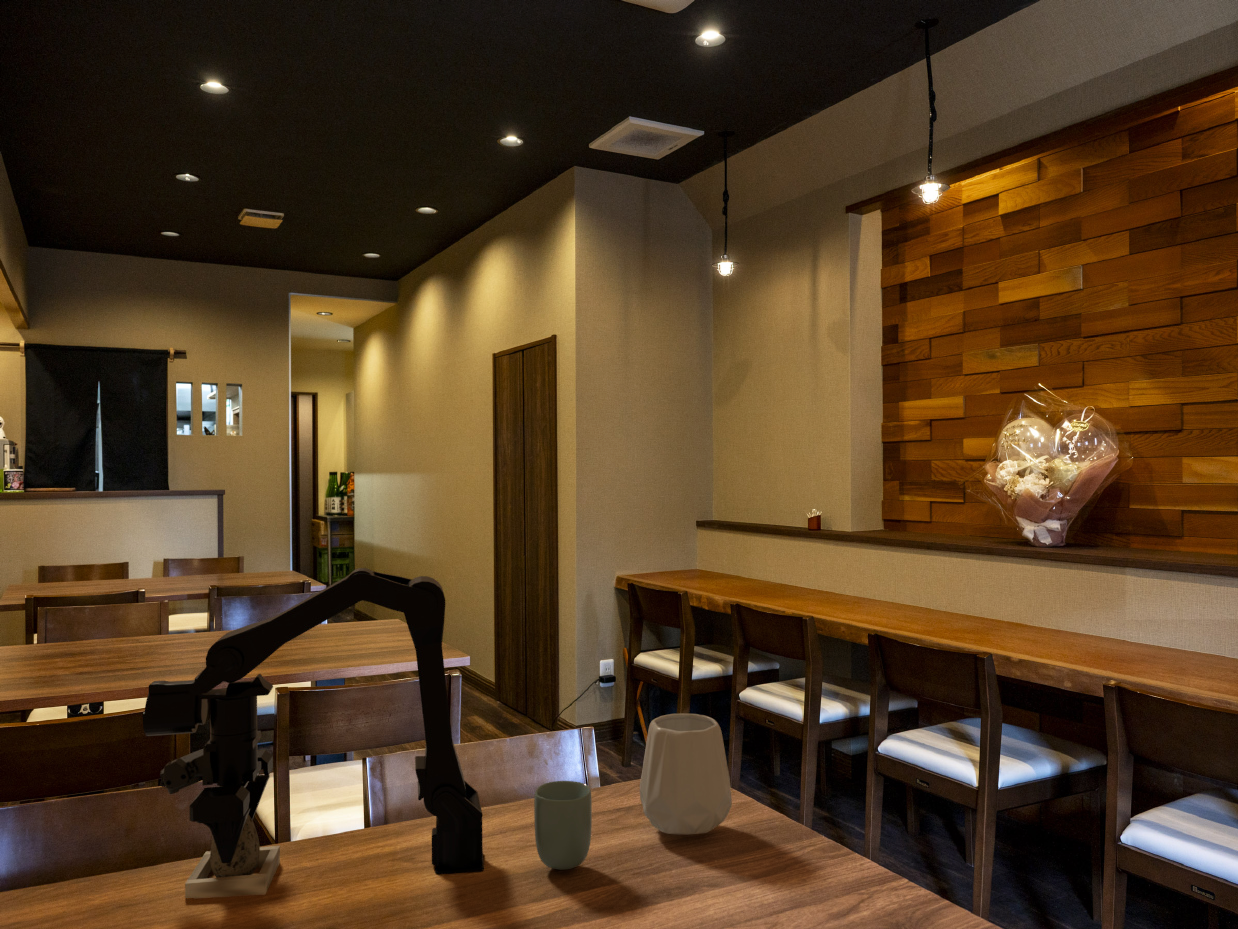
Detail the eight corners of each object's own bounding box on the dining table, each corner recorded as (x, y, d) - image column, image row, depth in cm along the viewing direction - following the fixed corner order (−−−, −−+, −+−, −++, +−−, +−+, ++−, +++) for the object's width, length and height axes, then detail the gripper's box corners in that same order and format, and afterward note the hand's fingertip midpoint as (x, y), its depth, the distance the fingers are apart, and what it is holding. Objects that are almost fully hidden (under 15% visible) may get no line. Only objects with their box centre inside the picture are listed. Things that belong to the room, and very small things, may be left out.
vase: (671, 797, 147) (670, 704, 147) (748, 816, 139) (747, 718, 139) (620, 825, 136) (620, 725, 136) (701, 848, 127) (701, 741, 127)
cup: (584, 879, 118) (583, 803, 118) (527, 874, 120) (527, 799, 120) (597, 853, 126) (597, 782, 126) (544, 849, 127) (543, 778, 127)
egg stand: (279, 864, 123) (279, 845, 123) (265, 896, 114) (265, 877, 114) (206, 870, 121) (206, 851, 121) (185, 903, 112) (185, 883, 112)
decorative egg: (268, 881, 118) (268, 805, 118) (225, 898, 113) (224, 819, 113) (244, 868, 122) (244, 795, 122) (201, 885, 117) (201, 808, 117)
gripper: (189, 713, 125) (190, 825, 125) (142, 756, 107) (144, 887, 107) (273, 709, 127) (273, 819, 127) (241, 750, 109) (242, 879, 109)
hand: (234, 848), depth 118 cm, fingers open, 8 cm apart
